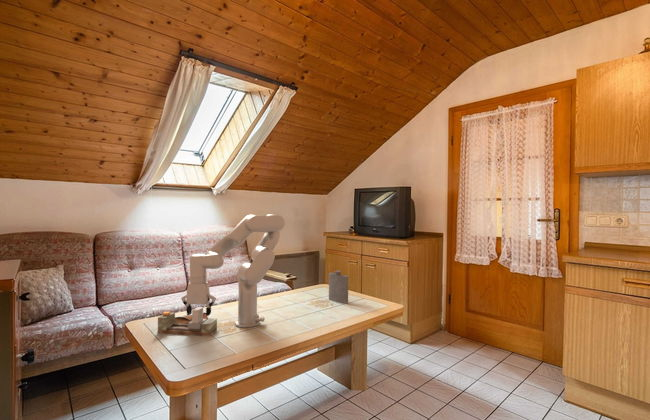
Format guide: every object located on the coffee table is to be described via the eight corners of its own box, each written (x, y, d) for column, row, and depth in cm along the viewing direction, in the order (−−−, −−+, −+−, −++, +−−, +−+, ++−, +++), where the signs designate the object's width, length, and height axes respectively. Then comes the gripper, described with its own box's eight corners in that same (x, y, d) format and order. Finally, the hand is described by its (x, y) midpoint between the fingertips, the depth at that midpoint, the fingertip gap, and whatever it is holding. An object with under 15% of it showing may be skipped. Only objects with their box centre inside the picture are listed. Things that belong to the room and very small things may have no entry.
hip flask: (349, 303, 214) (349, 272, 213) (344, 304, 211) (345, 273, 211) (331, 298, 225) (331, 268, 225) (326, 299, 222) (327, 269, 222)
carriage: (206, 323, 166) (206, 306, 165) (200, 329, 159) (200, 311, 158) (195, 323, 166) (195, 306, 166) (188, 328, 159) (188, 310, 159)
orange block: (170, 321, 165) (170, 311, 165) (167, 323, 163) (167, 313, 163) (165, 321, 165) (165, 311, 165) (162, 323, 163) (162, 313, 163)
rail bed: (216, 329, 166) (217, 314, 165) (209, 335, 158) (209, 320, 157) (167, 327, 168) (167, 312, 168) (157, 333, 160) (157, 317, 160)
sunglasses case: (175, 329, 166) (173, 315, 168) (172, 332, 170) (170, 319, 173) (211, 321, 176) (209, 309, 179) (208, 325, 181) (206, 313, 184)
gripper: (177, 281, 159) (177, 316, 160) (212, 282, 158) (212, 318, 158) (185, 277, 167) (186, 311, 167) (218, 278, 165) (219, 312, 165)
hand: (198, 314), depth 163 cm, fingers open, 9 cm apart
